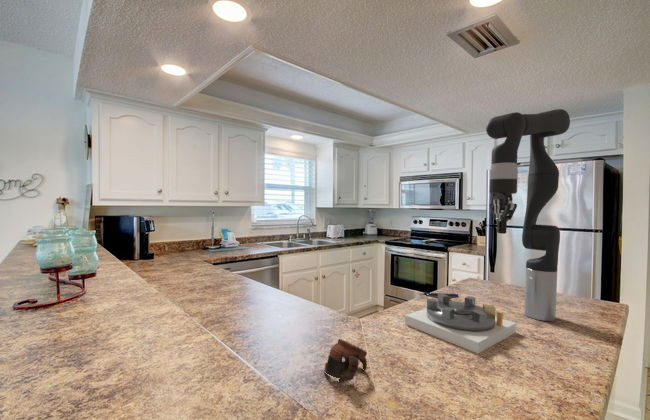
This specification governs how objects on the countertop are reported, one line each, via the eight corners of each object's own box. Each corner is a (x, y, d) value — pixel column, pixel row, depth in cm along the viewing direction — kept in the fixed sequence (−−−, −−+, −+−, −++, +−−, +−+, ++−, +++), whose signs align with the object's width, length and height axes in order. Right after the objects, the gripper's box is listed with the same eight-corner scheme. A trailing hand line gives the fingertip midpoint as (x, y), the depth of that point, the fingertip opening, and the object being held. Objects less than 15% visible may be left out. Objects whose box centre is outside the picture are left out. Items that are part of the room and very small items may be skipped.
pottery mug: (317, 367, 74) (330, 334, 76) (351, 383, 75) (363, 349, 77) (330, 382, 62) (346, 342, 65) (370, 400, 63) (384, 360, 66)
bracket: (432, 307, 120) (432, 300, 120) (423, 295, 135) (423, 289, 135) (470, 309, 119) (470, 302, 119) (456, 297, 134) (457, 291, 134)
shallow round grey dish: (486, 311, 105) (486, 297, 105) (503, 335, 86) (503, 317, 86) (425, 305, 110) (425, 291, 110) (428, 326, 91) (428, 309, 91)
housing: (445, 310, 115) (446, 291, 115) (515, 332, 96) (516, 310, 96) (404, 324, 101) (405, 303, 100) (477, 353, 81) (478, 327, 81)
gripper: (528, 176, 89) (525, 235, 90) (505, 180, 103) (503, 231, 103) (501, 176, 90) (499, 235, 90) (482, 180, 103) (480, 231, 104)
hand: (501, 233), depth 97 cm, fingers closed
